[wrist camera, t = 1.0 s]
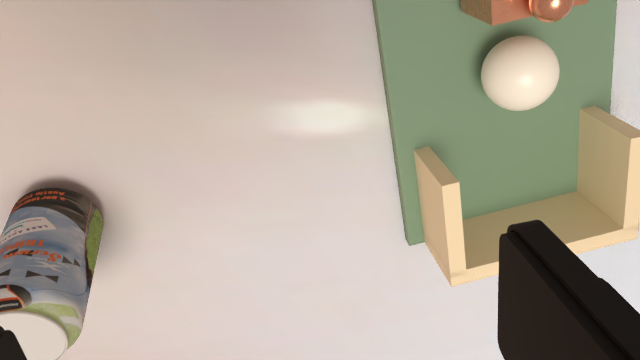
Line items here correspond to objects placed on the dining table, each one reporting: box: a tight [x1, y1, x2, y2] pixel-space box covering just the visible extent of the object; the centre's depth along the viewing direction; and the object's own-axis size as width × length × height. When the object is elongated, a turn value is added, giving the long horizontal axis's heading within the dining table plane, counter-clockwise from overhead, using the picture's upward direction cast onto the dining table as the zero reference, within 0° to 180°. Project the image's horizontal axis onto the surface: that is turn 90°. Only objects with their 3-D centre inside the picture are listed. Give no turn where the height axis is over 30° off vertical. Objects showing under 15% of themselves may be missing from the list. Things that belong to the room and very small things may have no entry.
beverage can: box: [0, 188, 103, 360], centre depth 36 cm, size 6×7×12 cm
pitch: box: [372, 0, 640, 287], centre depth 37 cm, size 32×17×7 cm, turn 11°
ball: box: [481, 36, 560, 111], centre depth 38 cm, size 5×5×5 cm
